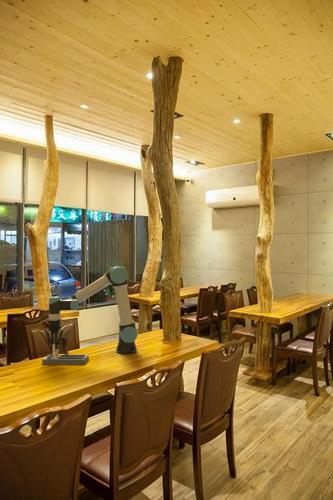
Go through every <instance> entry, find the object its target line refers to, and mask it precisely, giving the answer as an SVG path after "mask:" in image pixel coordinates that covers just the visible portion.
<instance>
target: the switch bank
mask: <svg viewBox="0 0 333 500" xmlns="http://www.w3.org/2000/svg"><path fill="white" fill-rule="evenodd" d="M51 358H53V354H47V355H46V356H45V357H43V358H42V360H41V362H42V363H41V364H42V365H85V364H86V363H88V360H89V358H90V354H65V355H61V357H56V358H58V359H51Z"/></svg>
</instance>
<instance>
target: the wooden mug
mask: <svg viewBox="0 0 333 500" xmlns="http://www.w3.org/2000/svg"><path fill="white" fill-rule="evenodd" d="M71 334H72V331H71V330H67V331H65V332H63V334H62V337H61V342H60V343H59V344H58V345H57V349H56V350H59V354H65V355H68V354H69V349H68V343H69V342H68V341H69V340H68V338H69V337H70V336H71ZM58 339H59V337H58ZM67 353H68V354H67Z"/></svg>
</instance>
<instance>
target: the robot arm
mask: <svg viewBox="0 0 333 500" xmlns="http://www.w3.org/2000/svg"><path fill="white" fill-rule="evenodd" d="M110 285H111V287H112V288H113V289H114V294H115V299H116V305H117V309H118V316H119V321H118V342H117V346H116V347H115V348H116V353H118V354H121V355H129V354H130V355H132V354H134V353H135V354H136V352H137V349H138V348H137V346H136V340H137V338H138V330H137V327H136V326H137V325H136V322H135V320H134V319H133V317H132V310H131V306H130V305H131V304H130V298H129V293H128V292H129V291H128V288H127V287H128V286H129V281H128V271H127V270H126V268H125V267H123V266H121V265H116V266H113V267H112V268H111V269H109V270H108V271H107V272H104V275H103V276H101V277H100V278H98V279H97V280H95V281H93V282H92V283H90V284H88V285H87V286H86V287H84V288H82V289H80V290H79V291H77V292H75V293H74V294H72V295H71V296H69V297H67V298H66V299H61V296H51V297H48V327H47V329H45V330H44V333H45V334H46V339H47V344H48V345H50V347H51V348H50V349H51V350H52V353H53V352H55V350H56V349H57V345H58V344H59V343H60V342H61V337H63V334H64V332H65V329H63V328H62V327H61V311H64V312H66V311H78V310H79V304H80V303H82V302H84V301H85V300H87V299H88V298H90V297H92V296H93V295H94V294H96V293H99V292H100V291H101V290H102V289H104V288H106V287H108V286H110ZM58 338H59V339H58Z"/></svg>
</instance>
